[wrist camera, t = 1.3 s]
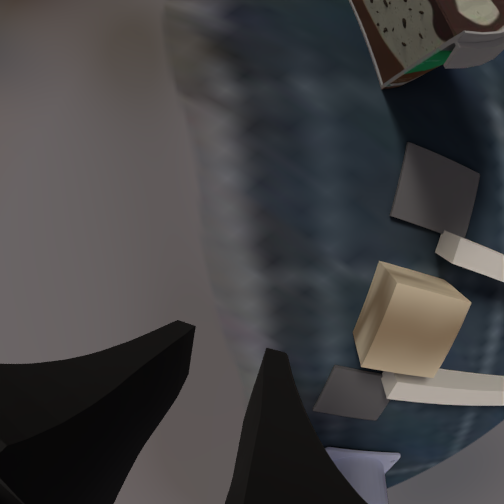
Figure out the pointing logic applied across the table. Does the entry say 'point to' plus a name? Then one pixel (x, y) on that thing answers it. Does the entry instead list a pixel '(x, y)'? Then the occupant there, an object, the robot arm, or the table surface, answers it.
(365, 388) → the plate
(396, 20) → the food container
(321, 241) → the table surface
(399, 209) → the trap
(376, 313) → the birch block
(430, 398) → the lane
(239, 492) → the robot arm
